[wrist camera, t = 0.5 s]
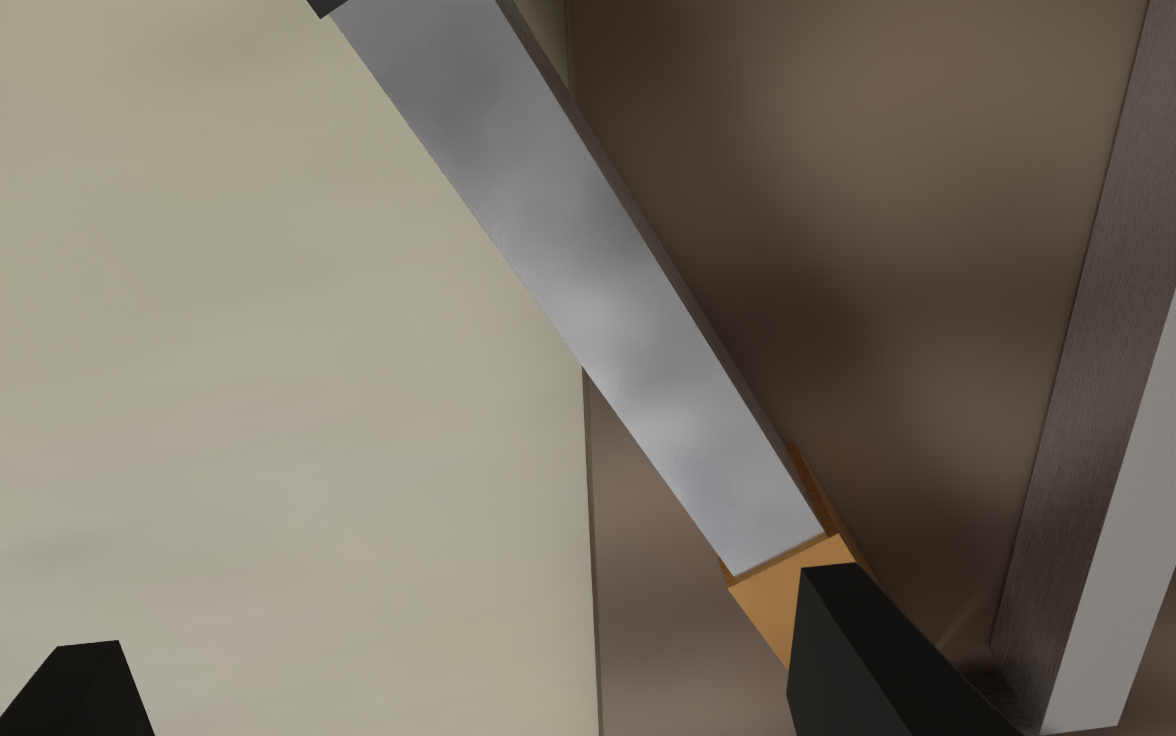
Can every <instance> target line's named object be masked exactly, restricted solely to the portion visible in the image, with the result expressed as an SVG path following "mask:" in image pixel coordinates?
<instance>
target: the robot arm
mask: <svg viewBox="0 0 1176 736" xmlns="http://www.w3.org/2000/svg"><path fill="white" fill-rule="evenodd" d="M786 696H787V700H788V704H789V708H790V712H791V716H792V720H793V724H794V727H795V731H796V735H797V736H1025V735H1024V734H1023V733H1022V732H1021V731H1020V730H1018V729H1017V728H1016V727H1015V726H1014V725H1013V724H1012V723H1011V722H1010V721H1009V720H1008V719H1007V718H1006V717H1005V716H1004V715H1003V714H1002V713H1001V712H1000V711H999V710H998V709H997V708H996V707H995V706H994V705H993V704H992V703H991V702H990V701H989V700H988V699H987V698H986V697H985V696H984V695H983V694H982V693H981V692H980V691H978V690H977V689H976V688H975V687H974V686H973V685H972V684H971V683H970V682H969V681H968V680H967V679H966V678H965V677H964V676H963V675H962V674H961V673H960V672H959V671H958V670H957V669H956V667H955V666H954V665H953V664H952V663H951V662H950V661H949V660H948V659H947V658H946V657H945V656H944V655H943V654H942V653H941V652H940V651H939V650H938V649H937V648H936V647H935V646H934V645H933V644H932V643H931V641H930V640H929V639H928V638H927V637H926V636H925V635H924V634H923V633H922V632H921V631H920V630H919V629H918V628H917V627H916V626H915V625H914V623H913V622H912V621H911V620H910V619H909V618H908V617H907V616H906V615H905V614H904V613H903V612H902V611H901V609H900V608H899V607H898V606H897V605H896V604H895V603H894V602H893V601H892V600H891V599H890V597H889V596H888V595H887V594H886V593H885V592H884V591H883V590H882V589H881V588H880V586H879V585H878V584H877V583H876V582H875V581H874V580H873V579H872V578H871V577H870V575H869V574H868V573H867V572H866V571H865V570H864V569H863V568H862V567H861V566H859V565H858V564H857V563H856V562H850V563H841V564H831V565H822V566H812V567H803V568H801V572H800V580H799V589H798V597H797V606H796V614H795V622H794V631H793V639H792V648H791V656H790V665H789V673H788V681H787V690H786ZM0 736H155V734H154V732H153V729H152V726H151V724H150V721H149V719H148V716H147V713H146V711H145V708H144V706H143V703H142V700H141V698H140V695H139V692H138V690H137V687H136V685H135V682H134V679H133V677H132V674H131V672H130V669H129V666H128V664H127V661H126V658H125V656H124V653H123V651H122V648H121V645H120V643H119V640H114V641H105V642H95V643H86V644H76V645H67V646H57V647H56V649H55V650H54V651H53V652H52V653H51V654H50V655H49V656H48V658H47V659H46V660H45V661H44V663H43V664H42V665H41V666H40V667H39V669H38V670H37V671H36V672H35V674H34V675H33V676H32V677H31V679H30V680H29V681H28V682H27V684H26V685H25V686H24V687H23V689H22V690H21V691H20V693H19V694H18V695H17V696H16V698H15V699H14V700H13V701H12V703H11V704H10V705H9V706H8V708H7V709H6V710H5V711H4V713H3V714H2V715H1V717H0Z"/></svg>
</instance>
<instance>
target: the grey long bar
mask: <svg viewBox="0 0 1176 736" xmlns="http://www.w3.org/2000/svg"><path fill="white" fill-rule="evenodd" d="M1175 566H1176V0H1150V2H1149V6H1148V10H1147V14H1146V18H1145V22H1144V26H1143V30H1142V34H1141V38H1140V42H1139V46H1138V50H1137V54H1136V58H1135V62H1134V66H1133V70H1132V74H1131V78H1130V82H1129V86H1128V90H1127V94H1126V98H1125V102H1124V106H1123V110H1122V114H1121V118H1120V122H1119V126H1118V130H1117V134H1116V138H1115V143H1114V147H1113V151H1112V155H1111V159H1110V163H1109V167H1108V171H1107V175H1106V179H1105V183H1104V187H1103V191H1102V195H1101V199H1100V203H1099V207H1098V211H1097V215H1096V219H1095V223H1094V227H1093V231H1092V235H1091V239H1090V243H1089V247H1088V251H1087V255H1086V259H1085V263H1084V267H1083V271H1082V275H1081V279H1080V283H1079V287H1078V291H1077V296H1076V300H1075V304H1074V308H1073V312H1072V316H1071V320H1070V324H1069V328H1068V332H1067V336H1066V340H1065V344H1064V348H1063V352H1062V356H1061V360H1060V364H1059V368H1058V372H1057V376H1056V380H1055V384H1054V388H1053V392H1052V396H1051V400H1050V404H1049V408H1048V412H1047V416H1046V420H1045V424H1044V428H1043V432H1042V436H1041V440H1040V445H1039V449H1038V453H1037V457H1036V461H1035V465H1034V469H1033V473H1032V477H1031V481H1030V485H1029V489H1028V493H1027V497H1026V501H1025V505H1024V509H1023V513H1022V517H1021V521H1020V525H1019V529H1018V533H1017V537H1016V541H1015V545H1014V549H1013V553H1012V557H1011V561H1010V565H1009V569H1008V573H1007V577H1006V581H1005V585H1004V589H1003V593H1002V598H1001V602H1000V606H999V610H998V614H997V618H996V622H995V626H994V630H993V634H992V638H991V642H990V646H989V650H990V652H991V654H992V655H993V657H994V659H995V661H996V662H997V664H998V666H999V668H1000V669H1001V671H1002V673H1003V674H1004V676H1005V678H1006V680H1007V681H1008V683H1009V685H1010V687H1011V688H1012V690H1013V692H1014V694H1015V695H1016V697H1017V699H1018V700H1019V702H1020V704H1021V706H1022V707H1023V709H1024V711H1025V713H1026V714H1027V716H1028V718H1029V720H1030V721H1031V723H1032V725H1033V726H1034V728H1035V730H1036V732H1037V733H1038V735H1039V736H1042V735H1049V734H1057V733H1064V732H1072V731H1080V730H1087V729H1095V728H1103V727H1110V726H1117V725H1118V722H1119V719H1120V716H1121V714H1122V711H1123V708H1124V705H1125V703H1126V700H1127V697H1128V694H1129V692H1130V689H1131V686H1132V683H1133V681H1134V678H1135V675H1136V673H1137V670H1138V667H1139V664H1140V662H1141V659H1142V656H1143V653H1144V651H1145V648H1146V645H1147V642H1148V640H1149V637H1150V634H1151V631H1152V629H1153V626H1154V623H1155V621H1156V618H1157V615H1158V612H1159V610H1160V607H1161V604H1162V601H1163V599H1164V596H1165V593H1166V590H1167V588H1168V585H1169V582H1170V580H1171V577H1172V574H1173V571H1174V569H1175Z"/></svg>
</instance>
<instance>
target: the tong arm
mask: <svg viewBox="0 0 1176 736" xmlns="http://www.w3.org/2000/svg"><path fill="white" fill-rule="evenodd" d="M307 1H308V3H309V4H310V6H311V7H312V8H313V10H314V11H315V12H316V14H317V15H318V17H319V18H320V19H321V18H323V17H324V16H326V15H327V14H329V15H330V16H331V18H332V19H333V21H334V22H335V23H336V25H337V26H338V27H339V29H340V30H341V32H342V33H343V34H344V36H345V37H346V39H347V40H348V41H349V43H350V44H351V46H352V47H353V48H354V50H355V51H356V52H357V54H358V55H359V57H360V58H361V59H362V61H363V62H364V64H365V65H366V66H367V68H368V69H369V71H370V72H371V73H372V75H373V76H374V77H375V79H376V80H377V82H378V83H379V84H380V86H381V87H382V89H383V90H384V91H385V93H386V94H387V96H388V97H389V98H390V100H391V101H392V102H393V104H394V105H395V107H396V108H397V109H398V111H399V112H400V114H401V115H402V116H403V118H404V119H405V121H406V122H407V123H408V125H409V126H410V127H411V129H412V130H413V132H414V133H415V134H416V136H417V137H418V139H419V140H420V141H421V143H422V144H423V146H424V147H425V148H426V150H427V151H428V152H429V154H430V155H431V157H432V158H433V159H434V161H435V162H436V164H437V165H438V166H439V168H440V169H441V171H442V172H443V173H444V175H445V176H446V177H447V179H448V180H449V182H450V183H451V184H452V186H453V187H454V189H455V190H456V191H457V193H458V194H459V196H460V197H461V198H462V200H463V201H464V202H465V204H466V205H467V207H468V208H469V209H470V211H471V212H472V214H473V215H474V216H475V218H476V219H477V221H478V222H479V223H480V225H481V226H482V227H483V229H484V230H485V232H486V233H487V234H488V236H489V237H490V239H491V240H492V241H493V243H494V244H495V246H496V247H497V248H498V250H499V251H500V252H501V254H502V255H503V257H504V258H505V259H506V261H507V262H508V264H509V265H510V266H511V268H512V269H513V271H514V272H515V273H516V275H517V276H518V277H519V279H520V280H521V282H522V283H523V284H524V286H525V287H526V289H527V290H528V291H529V293H530V294H531V296H532V297H533V298H534V300H535V301H536V303H537V304H538V305H539V307H540V308H541V309H542V311H543V312H544V314H545V315H546V316H547V318H548V319H549V321H550V322H551V323H552V325H553V326H554V328H555V329H556V330H557V332H558V333H559V334H560V336H561V337H562V339H563V340H564V341H565V343H566V344H567V346H568V347H569V348H570V350H571V351H572V353H573V354H574V355H575V357H576V358H577V359H578V361H579V362H580V364H581V365H582V366H583V368H584V369H585V371H586V372H587V373H588V375H589V376H590V378H591V379H592V380H593V382H594V383H595V384H596V386H597V387H598V389H599V390H600V391H601V393H602V394H603V396H604V397H605V398H606V400H607V401H608V403H609V404H610V405H611V407H612V408H613V409H614V411H615V412H616V414H617V415H618V416H619V418H620V419H621V421H622V422H623V423H624V425H625V426H626V428H627V429H628V430H629V432H630V433H631V434H632V436H633V437H634V439H635V440H636V441H637V443H638V444H639V446H640V447H641V448H642V450H643V451H644V453H645V454H646V455H647V457H648V458H649V459H650V461H651V462H652V464H653V465H654V466H655V468H656V469H657V471H658V472H659V473H660V475H661V476H662V478H663V479H664V480H665V482H666V483H667V484H668V486H669V487H670V489H671V490H672V491H673V493H674V494H675V496H676V497H677V498H678V500H679V501H680V503H681V504H682V505H683V507H684V508H685V509H686V511H687V512H688V514H689V515H690V516H691V518H692V519H693V521H694V522H695V523H696V525H697V526H698V528H699V529H700V530H701V532H702V533H703V534H704V536H705V537H706V539H707V540H708V541H709V543H710V544H711V546H712V547H713V548H714V550H715V552H716V555H717V558H718V561H719V564H720V567H721V570H722V573H723V576H724V579H725V582H726V585H727V588H728V590H729V591H730V593H731V594H732V595H733V597H734V598H735V600H736V601H737V602H738V604H739V605H740V606H741V608H742V609H743V610H744V612H745V613H746V615H747V616H748V617H749V619H750V620H751V621H752V623H753V624H754V625H755V627H756V628H757V630H758V631H759V632H760V634H761V635H762V636H763V638H764V639H765V640H766V642H767V643H768V645H769V646H770V647H771V649H772V650H773V651H774V653H775V654H776V655H777V657H778V658H779V660H780V661H781V662H782V664H783V665H784V666H785V668H786V669H787V670H788V672H789V665H790V656H791V648H792V639H793V631H794V622H795V614H796V606H797V597H798V589H799V580H800V572H801V568H803V567H812V566H822V565H831V564H841V563H850V562H856V563H857V564H858V565H859V566H861V567H862V568H863V569H864V570H865V571H866V572H867V573H868V574H869V575H870V577H871V578H872V579H873V580H874V581H875V582H876V583H877V584H878V585H879V586H880V588H881V589H882V590H883V591H884V589H883V588H882V586H881V584H880V583H879V581H878V579H877V578H876V576H875V574H874V573H873V571H872V569H871V568H870V566H869V564H868V563H867V561H866V559H865V558H864V556H863V554H862V553H861V551H860V549H859V548H858V546H857V544H856V543H855V541H854V539H853V538H852V536H851V534H850V533H849V531H848V529H847V528H846V526H845V524H844V523H843V521H842V519H841V518H840V516H839V514H838V513H837V511H836V509H835V508H834V506H833V504H832V503H831V501H830V500H829V498H828V496H827V495H826V493H825V491H824V490H823V488H822V486H821V485H820V483H819V481H818V480H817V478H816V476H815V475H814V473H813V471H812V470H811V468H810V466H809V465H808V463H807V461H806V460H805V458H804V456H803V455H802V453H801V451H800V450H799V448H798V446H797V445H796V443H795V441H794V442H793V443H791V444H789V445H787V446H785V445H784V444H783V442H782V440H781V439H780V437H779V435H778V434H777V432H776V431H775V429H774V427H773V426H772V424H771V422H770V421H769V419H768V417H767V416H766V414H765V412H764V411H763V409H762V408H761V406H760V404H759V403H758V401H757V399H756V398H755V396H754V394H753V393H752V391H751V390H750V388H749V386H748V385H747V383H746V381H745V380H744V378H743V376H742V375H741V373H740V372H739V370H738V368H737V367H736V365H735V363H734V362H733V360H732V358H731V357H730V355H729V354H728V352H727V350H726V349H725V347H724V345H723V344H722V342H721V340H720V339H719V337H718V336H717V334H716V332H715V331H714V329H713V327H712V326H711V324H710V322H709V321H708V319H707V317H706V316H705V314H704V313H703V311H702V309H701V308H700V306H699V304H698V303H697V301H696V299H695V298H694V296H693V295H692V293H691V291H690V290H689V288H688V286H687V285H686V283H685V281H684V280H683V278H682V277H681V275H680V273H679V272H678V270H677V268H676V267H675V265H674V263H673V262H672V260H671V259H670V257H669V255H668V254H667V252H666V250H665V249H664V247H663V245H662V244H661V242H660V240H659V239H658V237H657V236H656V234H655V232H654V231H653V229H652V227H651V226H650V224H649V222H648V221H647V219H646V218H645V216H644V214H643V213H642V211H641V209H640V208H639V206H638V204H637V203H636V201H635V200H634V198H633V196H632V195H631V193H630V191H629V190H628V188H627V186H626V185H625V183H624V182H623V180H622V178H621V177H620V175H619V173H618V172H617V170H616V168H615V167H614V165H613V163H612V162H611V160H610V159H609V157H608V155H607V154H606V152H605V150H604V149H603V147H602V145H601V144H600V142H599V141H598V139H597V137H596V136H595V134H594V132H593V131H592V129H591V127H590V126H589V124H588V123H587V121H586V119H585V118H584V116H583V114H582V113H581V111H580V109H579V108H578V106H577V105H576V103H575V101H574V100H573V98H572V96H571V95H570V93H569V91H568V90H567V88H566V86H565V85H564V83H563V82H562V80H561V78H560V77H559V75H558V73H557V72H556V70H555V68H554V67H553V65H552V64H551V62H550V60H549V59H548V57H547V55H546V54H545V52H544V50H543V49H542V47H541V46H540V44H539V42H538V41H537V39H536V37H535V36H534V34H533V32H532V31H531V29H530V28H529V26H528V24H527V23H526V21H525V19H524V18H523V16H522V14H521V13H520V11H519V9H518V8H517V6H516V5H515V3H514V1H513V0H307ZM884 592H885V591H884ZM963 676H964V677H965V678H966V679H967V680H968V681H969V682H970V683H971V684H972V685H973V686H974V687H975V688H976V689H977V690H978V691H980V692H981V693H982V694H983V695H984V696H985V697H986V698H987V699H988V700H989V701H990V702H991V703H992V704H993V705H994V706H995V707H996V708H997V709H998V710H999V711H1000V712H1001V713H1002V714H1003V715H1004V716H1005V717H1006V718H1007V719H1008V720H1009V721H1010V722H1011V723H1012V724H1013V725H1014V726H1015V727H1016V728H1017V729H1018V730H1020V731H1021V732H1022V733H1023V734H1024V735H1025V736H1039V735H1038V733H1037V732H1036V730H1035V728H1034V726H1033V725H1032V723H1031V721H1030V720H1029V718H1028V716H1027V714H1026V713H1025V711H1024V709H1023V707H1022V706H1021V704H1020V702H1019V700H1018V699H1017V697H1016V695H1015V694H1014V692H1013V690H1012V688H1011V687H1010V685H1009V683H1008V681H1007V680H1006V678H1005V676H1004V674H1003V673H1002V671H981V672H974V673H969V674H965V675H963ZM1042 736H1062V734H1061V733H1057V734H1049V735H1042Z"/></svg>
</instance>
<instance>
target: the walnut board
mask: <svg viewBox="0 0 1176 736" xmlns="http://www.w3.org/2000/svg"><path fill="white" fill-rule="evenodd" d="M1149 2H1150V0H565V13H566V35H567V56H568V78H569V93H570V95H571V96H572V98H573V100H574V101H575V103H576V105H577V106H578V108H579V109H580V111H581V113H582V114H583V116H584V118H585V119H586V121H587V123H588V124H589V126H590V127H591V129H592V131H593V132H594V134H595V136H596V137H597V139H598V141H599V142H600V144H601V145H602V147H603V149H604V150H605V152H606V154H607V155H608V157H609V159H610V160H611V162H612V163H613V165H614V167H615V168H616V170H617V172H618V173H619V175H620V177H621V178H622V180H623V182H624V183H625V185H626V186H627V188H628V190H629V191H630V193H631V195H632V196H633V198H634V200H635V201H636V203H637V204H638V206H639V208H640V209H641V211H642V213H643V214H644V216H645V218H646V219H647V221H648V222H649V224H650V226H651V227H652V229H653V231H654V232H655V234H656V236H657V237H658V239H659V240H660V242H661V244H662V245H663V247H664V249H665V250H666V252H667V254H668V255H669V257H670V259H671V260H672V262H673V263H674V265H675V267H676V268H677V270H678V272H679V273H680V275H681V277H682V278H683V280H684V281H685V283H686V285H687V286H688V288H689V290H690V291H691V293H692V295H693V296H694V298H695V299H696V301H697V303H698V304H699V306H700V308H701V309H702V311H703V313H704V314H705V316H706V317H707V319H708V321H709V322H710V324H711V326H712V327H713V329H714V331H715V332H716V334H717V336H718V337H719V339H720V340H721V342H722V344H723V345H724V347H725V349H726V350H727V352H728V354H729V355H730V357H731V358H732V360H733V362H734V363H735V365H736V367H737V368H738V370H739V372H740V373H741V375H742V376H743V378H744V380H745V381H746V383H747V385H748V386H749V388H750V390H751V391H752V393H753V394H754V396H755V398H756V399H757V401H758V403H759V404H760V406H761V408H762V409H763V411H764V412H765V414H766V416H767V417H768V419H769V421H770V422H771V424H772V426H773V427H774V429H775V431H776V432H777V434H778V435H779V437H780V439H781V440H782V442H783V444H784V445H785V446H787V445H789V444H791V443H793V442H794V441H795V443H796V445H797V446H798V448H799V450H800V451H801V453H802V455H803V456H804V458H805V460H806V461H807V463H808V465H809V466H810V468H811V470H812V471H813V473H814V475H815V476H816V478H817V480H818V481H819V483H820V485H821V486H822V488H823V490H824V491H825V493H826V495H827V496H828V498H829V500H830V501H831V503H832V504H833V506H834V508H835V509H836V511H837V513H838V514H839V516H840V518H841V519H842V521H843V523H844V524H845V526H846V528H847V529H848V531H849V533H850V534H851V536H852V538H853V539H854V541H855V543H856V544H857V546H858V548H859V549H860V551H861V553H862V554H863V556H864V558H865V559H866V561H867V563H868V564H869V566H870V568H871V569H872V571H873V573H874V574H875V576H876V578H877V579H878V581H879V583H880V584H881V586H882V588H883V589H884V591H885V593H886V594H887V595H888V596H889V597H890V599H891V600H892V601H893V602H894V603H895V604H896V605H897V606H898V607H899V608H900V609H901V611H902V612H903V613H904V614H905V615H906V616H907V617H908V618H909V619H910V620H911V621H912V622H913V623H914V625H915V626H916V627H917V628H918V629H919V630H920V631H921V632H922V633H923V634H924V635H925V636H926V637H927V638H928V639H929V640H930V641H931V643H932V644H933V645H934V646H935V647H936V648H937V649H938V650H939V651H940V652H941V653H942V654H943V655H944V656H945V657H946V658H947V659H948V660H949V661H950V662H951V663H952V664H953V665H954V666H955V667H956V669H957V670H958V671H959V672H960V673H961V674H962V675H965V674H969V673H974V672H981V671H1001V669H1000V668H999V666H998V664H997V662H996V661H995V659H994V657H993V655H992V654H991V652H990V650H989V646H990V642H991V638H992V634H993V630H994V626H995V622H996V618H997V614H998V610H999V606H1000V602H1001V598H1002V593H1003V589H1004V585H1005V581H1006V577H1007V573H1008V569H1009V565H1010V561H1011V557H1012V553H1013V549H1014V545H1015V541H1016V537H1017V533H1018V529H1019V525H1020V521H1021V517H1022V513H1023V509H1024V505H1025V501H1026V497H1027V493H1028V489H1029V485H1030V481H1031V477H1032V473H1033V469H1034V465H1035V461H1036V457H1037V453H1038V449H1039V445H1040V440H1041V436H1042V432H1043V428H1044V424H1045V420H1046V416H1047V412H1048V408H1049V404H1050V400H1051V396H1052V392H1053V388H1054V384H1055V380H1056V376H1057V372H1058V368H1059V364H1060V360H1061V356H1062V352H1063V348H1064V344H1065V340H1066V336H1067V332H1068V328H1069V324H1070V320H1071V316H1072V312H1073V308H1074V304H1075V300H1076V296H1077V291H1078V287H1079V283H1080V279H1081V275H1082V271H1083V267H1084V263H1085V259H1086V255H1087V251H1088V247H1089V243H1090V239H1091V235H1092V231H1093V227H1094V223H1095V219H1096V215H1097V211H1098V207H1099V203H1100V199H1101V195H1102V191H1103V187H1104V183H1105V179H1106V175H1107V171H1108V167H1109V163H1110V159H1111V155H1112V151H1113V147H1114V143H1115V138H1116V134H1117V130H1118V126H1119V122H1120V118H1121V114H1122V110H1123V106H1124V102H1125V98H1126V94H1127V90H1128V86H1129V82H1130V78H1131V74H1132V70H1133V66H1134V62H1135V58H1136V54H1137V50H1138V46H1139V42H1140V38H1141V34H1142V30H1143V26H1144V22H1145V18H1146V14H1147V10H1148V6H1149ZM582 378H583V400H584V421H585V443H586V464H587V486H588V507H589V529H590V550H591V572H592V593H593V615H594V636H595V658H596V679H597V701H598V722H599V736H797V735H796V731H795V727H794V724H793V720H792V716H791V712H790V708H789V704H788V700H787V696H786V690H787V681H788V673H789V672H788V670H787V669H786V668H785V666H784V665H783V664H782V662H781V661H780V660H779V658H778V657H777V655H776V654H775V653H774V651H773V650H772V649H771V647H770V646H769V645H768V643H767V642H766V640H765V639H764V638H763V636H762V635H761V634H760V632H759V631H758V630H757V628H756V627H755V625H754V624H753V623H752V621H751V620H750V619H749V617H748V616H747V615H746V613H745V612H744V610H743V609H742V608H741V606H740V605H739V604H738V602H737V601H736V600H735V598H734V597H733V595H732V594H731V593H730V591H729V590H728V588H727V585H726V582H725V579H724V576H723V573H722V570H721V567H720V564H719V561H718V558H717V555H716V552H715V550H714V548H713V547H712V546H711V544H710V543H709V541H708V540H707V539H706V537H705V536H704V534H703V533H702V532H701V530H700V529H699V528H698V526H697V525H696V523H695V522H694V521H693V519H692V518H691V516H690V515H689V514H688V512H687V511H686V509H685V508H684V507H683V505H682V504H681V503H680V501H679V500H678V498H677V497H676V496H675V494H674V493H673V491H672V490H671V489H670V487H669V486H668V484H667V483H666V482H665V480H664V479H663V478H662V476H661V475H660V473H659V472H658V471H657V469H656V468H655V466H654V465H653V464H652V462H651V461H650V459H649V458H648V457H647V455H646V454H645V453H644V451H643V450H642V448H641V447H640V446H639V444H638V443H637V441H636V440H635V439H634V437H633V436H632V434H631V433H630V432H629V430H628V429H627V428H626V426H625V425H624V423H623V422H622V421H621V419H620V418H619V416H618V415H617V414H616V412H615V411H614V409H613V408H612V407H611V405H610V404H609V403H608V401H607V400H606V398H605V397H604V396H603V394H602V393H601V391H600V390H599V389H598V387H597V386H596V384H595V383H594V382H593V380H592V379H591V378H590V376H589V375H588V373H587V372H586V371H585V369H584V368H583V366H582ZM1061 734H1062V736H1176V566H1175V569H1174V571H1173V574H1172V577H1171V580H1170V582H1169V585H1168V588H1167V590H1166V593H1165V596H1164V599H1163V601H1162V604H1161V607H1160V610H1159V612H1158V615H1157V618H1156V621H1155V623H1154V626H1153V629H1152V631H1151V634H1150V637H1149V640H1148V642H1147V645H1146V648H1145V651H1144V653H1143V656H1142V659H1141V662H1140V664H1139V667H1138V670H1137V673H1136V675H1135V678H1134V681H1133V683H1132V686H1131V689H1130V692H1129V694H1128V697H1127V700H1126V703H1125V705H1124V708H1123V711H1122V714H1121V716H1120V719H1119V722H1118V725H1117V726H1110V727H1103V728H1095V729H1087V730H1080V731H1072V732H1064V733H1061Z"/></svg>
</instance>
